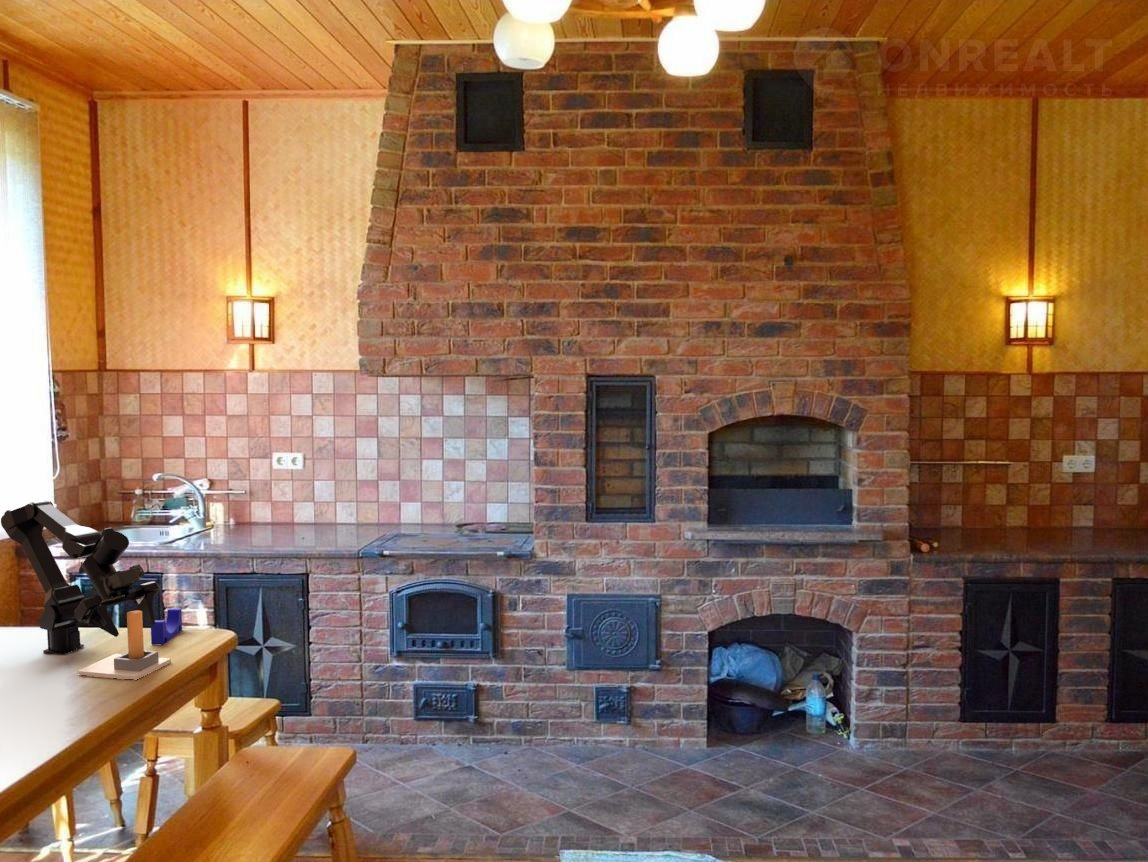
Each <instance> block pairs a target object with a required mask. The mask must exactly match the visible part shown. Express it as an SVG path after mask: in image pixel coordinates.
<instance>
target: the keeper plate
mask: <svg viewBox="0 0 1148 862" xmlns="http://www.w3.org/2000/svg"><path fill="white" fill-rule="evenodd" d="M171 663H172V661H171V658H167V657H159V651H158V650H157V651H156V650H155V651H154V650H146V649H144V657H143V658H141V659H129V655H128V651H127V652H125V653H123V654H121V653H114V654H112V655H109V656H107V657H105V658H103V659H101V660H99V661H97V662H94V663H92V664H90V665H87V666H86V667H83V668H81V669H80V670H78V672H77V675H78V674H80V675H79V676H81V675H87V676H86V677H92V676H94V678H104V679H113V678H117V679H116V680H124V679H134V680H133V681H135V680H137V679H139V678H141V677H143V676H144V677H146V676H148V675H149V674H148V673H150V672H152V671H154V670H156V669H158V670H160V669H162V668H163V666H164V667H166V666H167V665H169V664H171ZM161 667H162V668H161ZM159 668H160V669H159ZM156 671H157V670H156ZM154 672H155V671H154ZM152 673H153V672H152ZM147 674H148V675H147ZM150 674H151V673H150ZM145 675H146V676H145ZM144 677H143V678H144ZM141 679H142V678H141ZM139 680H140V679H139ZM137 681H138V680H137Z"/></svg>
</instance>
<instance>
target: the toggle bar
mask: <svg viewBox="0 0 1148 862" xmlns="http://www.w3.org/2000/svg"><path fill="white" fill-rule="evenodd" d="M126 626H127V627H126V628H127V649H128V650H127V652H128V655H129V659H141V658H143V657H144V650H145V648H144V644H145V643H144V625H143V616H142V611H138V610H137V609H136V610H131V611H127V612H126Z"/></svg>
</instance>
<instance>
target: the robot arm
mask: <svg viewBox="0 0 1148 862" xmlns="http://www.w3.org/2000/svg"><path fill="white" fill-rule="evenodd" d="M0 525H1V527H2V529H3V530H4V531H5V533H6V534H7V536H8V537H9V538H10V539H11V540H13V541H14V542H16V543H18V544H20V545H21V546H22V549H23V550H24V552H25V555H26V557H27V559H28V560H29V563H30V564H31V567H32V568H33V571H34V572H35V575H36V576H37V579H38V581H39V582H40V585H41V586H42V589H43V591H44V593H45V596H44V602H43V608H44V612H42V614H41V616H40V617H39V618H38V624H39V628H40V629H41V630H45V631H46V633H47V636H46V637H47V648H46V649H44V650H42V652H43V653H44V654H54V655H68V654H70V653H72V652H71V651H73V652H75V651H77V650H79V649H81V647H82V648H84V647H85V644H82V643H81V631H80V629H79V624H81V623H84V624H91V625H92V626H94V627H97V628H99V629H101V630H102V631H104V632H106V633H108V634H109V635H111V636H112V637H115V638H117V637H118V636H119V635H120V633H119V631H118V629H117V626H116V625H115V623H114V621H113V619H112V618H111V616H110V614H109V612H108V608H110V607H115V606H117V605H122V604H125V603H129V602H132V603H133V604H134V605H136V608H135V609H136V611H137V610H138V611H142V618H144V620H145V621H146V622H147V624H149V625H150V627H151V626H154V624H155V613H154V599H155V597H156V596H157V595H158V593H159V592H160V591H161V587H160V585H159V583H157V582H156V581H148V582H145V583H142V584H139V585H138V587H137V588H136V589H135V591H132V592H130V590H132V589H133V587H134V585H133V584H136V583H137V582H138V583H139V582H141V578H144V577H145V571H144V569H143V567H142V566H141V565H140V564H134V565H132V566H130V567H129V568H128V569H125V570H117V569H116V568H115V566H114V564H117V562H118V561H120V559H121V557H122V556H123V555H124V553H125V552H126V550H127V549H128V547H129V545H130V540H129V538H128V537H127V536H126V535H125V534H123V533H122V532H119V531H116V530H114V528H113V527H107V528H104V529H103V530H102V531H101V533H100V532H99V531H98V530H96V529H94V528H91V527H89V526H82V525H80V524H77V523H76V522H75V521H74V520H72V519H71V518H70V517H69V516H68V515H66V514H64V513H63V512H61V511H60V510H59V509H58V508H56V507H55V506H54V505H53V502H52V501H51V500H37V501H32V502H30V503H27V504H25V505H24V506H20V507H18V508H15V509H14V508H13V509H9V510H6V511H5V512H4V513H3V515H2V516H1V517H0ZM44 528H45V529H46V530H47V531H49V532H50V533H51V534H53V535H54V536H55V537H57V538H58V539H59V540H60V541H61V542H62V544H61V546H62V547H61V548H62V550H63V551H64V552H65V553H66V554H67V555H68V556H69V557H70V558H71V559H73V560H75V559H76V560H77V559H81V558H85V557H86V558H85V559H84V561H80V566H79V569H78V574H80V575H81V574H86V576H87V578H88V579H89V581H90V583H91V585H92V588H91V589H90V590H91V592H92V594H95V593H97V594H98V595H93V596H89V597H86V596H85V595H84V594H83V592H82V590H81V588H80V586H79V585H78V584H72V585H71V584H69V583H68V582H67V581H66V579H65V576H64V575H63V573H62V571H61V568H60V567H59V565H58V563H57V561H56V559H55V556H54V555H53V553H52V552H51V549H50V548H49V546H48V543H47V541H46V539H45V538H44V535H43V532H44ZM76 649H77V650H76ZM74 650H75V651H74Z"/></svg>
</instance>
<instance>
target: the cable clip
mask: <svg viewBox="0 0 1148 862" xmlns="http://www.w3.org/2000/svg"><path fill="white" fill-rule="evenodd" d="M182 614H183V612H182V608H181V607H180V608H179V607H177V608H172V607H170V608H168V609H167V615H166V619H161V620H160V619H158V620H157V619H156V620H155V624H154V626H151V625H150V641H151V642H150V643H151V644H161V645H160V646H164V645H165V644H167V643H169V641H170V640H172V639H173V638H174V637H175V636H177V635H179V633H181V631H183V619H182V618H183V617H182V616H183V615H182Z"/></svg>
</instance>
